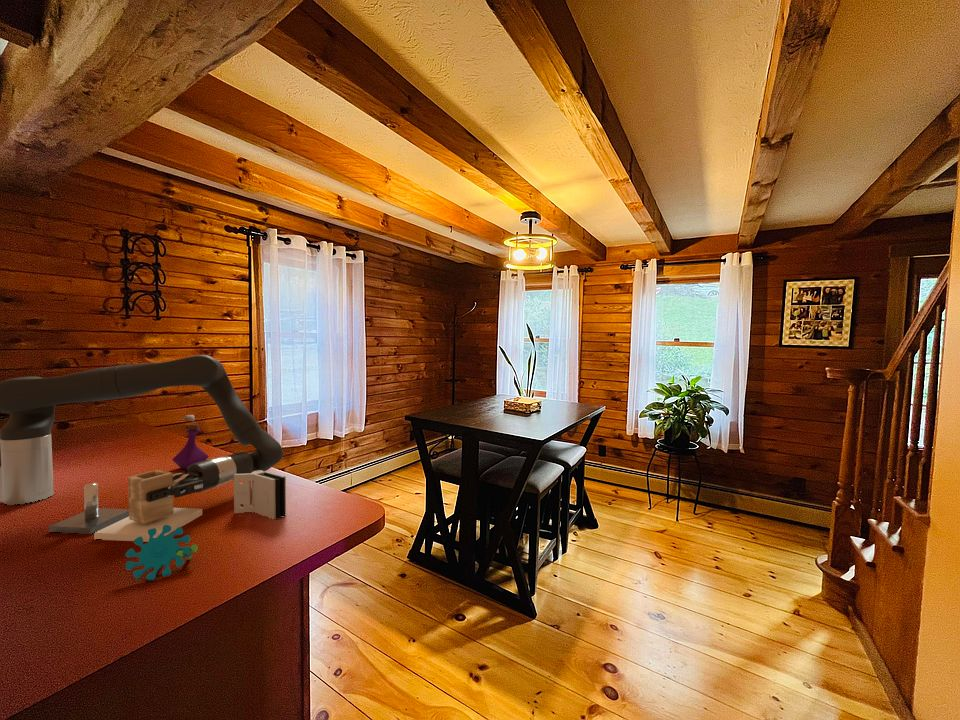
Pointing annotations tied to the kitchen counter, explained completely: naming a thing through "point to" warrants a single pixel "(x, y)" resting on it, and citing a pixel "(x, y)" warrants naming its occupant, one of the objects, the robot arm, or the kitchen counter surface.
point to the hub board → (147, 526)
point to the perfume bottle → (190, 448)
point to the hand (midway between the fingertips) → (139, 495)
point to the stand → (90, 515)
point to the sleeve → (137, 496)
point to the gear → (160, 552)
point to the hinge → (260, 493)
